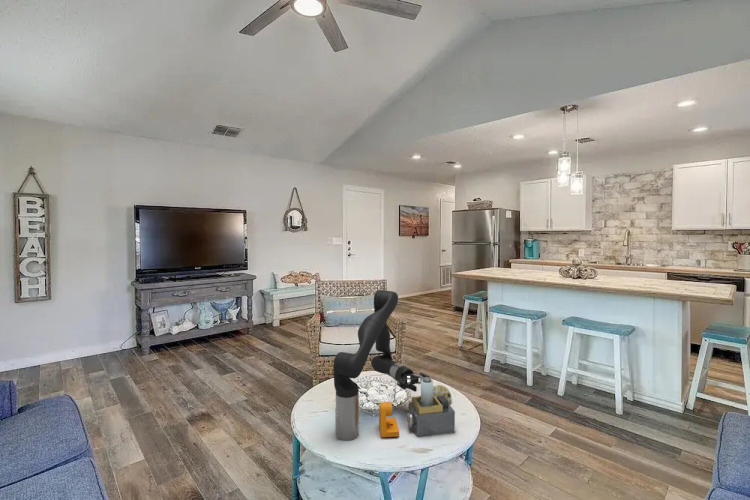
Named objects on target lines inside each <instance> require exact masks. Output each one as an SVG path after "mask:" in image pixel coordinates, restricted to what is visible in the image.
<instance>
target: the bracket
mask: <svg viewBox="0 0 750 500" xmlns="http://www.w3.org/2000/svg"><path fill="white" fill-rule="evenodd" d="M392 405H393V404H392V402H391V401H388V402H387V401H386V402H385V401H383V402H379V406H378V407H379V408H378V409H379V411H378V424H379V432H380V437H381V438H395V437H399V436H400V430H399V426H398V421H397V418H395V417H392V416H393V406H392ZM388 417H389V418H388Z"/></svg>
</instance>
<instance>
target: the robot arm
mask: <svg viewBox="0 0 750 500" xmlns="http://www.w3.org/2000/svg"><path fill="white" fill-rule="evenodd" d="M373 296H374V297H373V310H374V312H373V313H371V314H369V315H368V316H366V317H365V318H364V320H363V321H362V322H361V324H360V325H359V327H358V330H357V337H358V343H359V344H358V345H359V347H358V350H357V351H356V353H350V352H345V351H341V352H337V354H336V355H335V357H334V360H333V366H332V367H333V370H332V371H333V385H334V390H335V416H334V417H335V421H334V422H335V423H334V424H335V425H334V426H335V436H336V437H335V438H336V440H342V441H352V440H354V439H356V438H357V437H359V433H360V427H359V426H360V425H359V424H360V423H359V422H360V421H359V420H360V416H359V413H360V412H359V411H360V410H359V409H360V406H359V403H360V402H359V400H360V399H359V392H360V391H359V389H360V388H359V384H357V383H356V382H355V381H353V379H357V378H359V377H360V375H361V373H362V371H363V369H364V367H365V365H366V362H367V359H368V358H369V355H370V353H371V351H372V348H373V347H374V345H375V350H376V351H377V352H380V353H382V355H376V356H373V357H372V359H371V362H370V363H371V365H370V366H371V368H372V369H373V370H374V371H375V372H377V373H381V374H384V375H388V376H389V377H391V378H392V379H393V380H395V381H396V385H397V386H398V387H399V388H400V389H402V390H406V389H408V390H411V391H412V392H414V393H416V392H417V391H418V390H417V389H418V387H417V386H416V385H421V380H422V379H423V378H424V377H430V376H429V375H427V374H426V373H423V372H419V374H416V373H414V371H413V370H412V369H411V368H409V367H407V366H405V365H404V364H402V363H399V362H397V361H395V360H393V357H392V352H391V348H390V347H391V332H390V330H389V328H388V325H387V321H388V319H389V318H390V316H391V315H392V313H393V312H394V311H395V309H396V307H397V305H398V302H399V295H398V293H397V292H395V291H391V290H384V289H377V290H376V291H375V293H374V295H373ZM430 378H431V377H430Z"/></svg>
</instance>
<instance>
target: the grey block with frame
mask: <svg viewBox="0 0 750 500" xmlns="http://www.w3.org/2000/svg"><path fill="white" fill-rule="evenodd" d="M408 404H409V405H408V409H409V410H408V412H406V423H407V426H408V427H410V428H411V429H412V431H413V433H414V434H415V436H416V438H423V437H429V436H438V435H446V434H447V435H448V434H455V431H456V430H455V428H456V427H455V425H456V423H455V422H456V419H455V418H456V417H455V416H456V413H455V412H456V411H455V410H454V409H453V408H452V406H451V404H450V405H449V404H448V400H447V399H446V398H445V396H437V398H436V397H435V395H433V406H425V407H421V395H420V396H419V395H417V396H411V401H410V402H408Z"/></svg>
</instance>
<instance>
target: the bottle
mask: <svg viewBox="0 0 750 500" xmlns="http://www.w3.org/2000/svg"><path fill="white" fill-rule="evenodd" d="M433 386H434V380H433V379H432V378H431V377H424V378H423V379H422V380H421V384H420V396H421V407H425V406H433Z"/></svg>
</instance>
